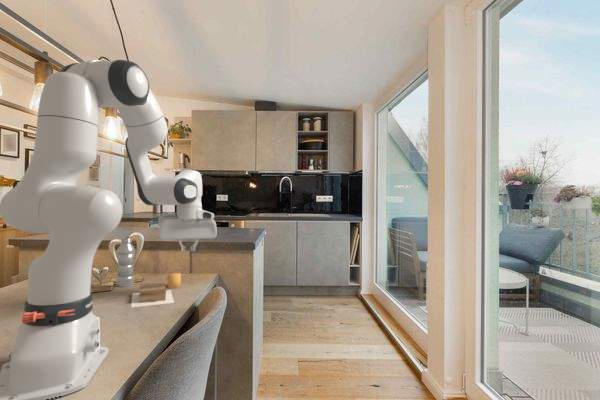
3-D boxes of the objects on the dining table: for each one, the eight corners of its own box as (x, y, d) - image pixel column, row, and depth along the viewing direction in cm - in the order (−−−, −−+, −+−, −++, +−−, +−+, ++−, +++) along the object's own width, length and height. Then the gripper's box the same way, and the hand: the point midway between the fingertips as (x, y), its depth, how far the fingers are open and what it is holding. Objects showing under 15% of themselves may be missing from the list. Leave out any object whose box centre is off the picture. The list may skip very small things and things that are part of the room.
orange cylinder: (181, 290, 124) (181, 275, 124) (167, 291, 122) (168, 276, 122) (179, 287, 129) (180, 272, 129) (166, 288, 126) (167, 273, 126)
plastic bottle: (126, 290, 122) (128, 239, 122) (111, 288, 123) (113, 238, 123) (138, 286, 128) (139, 237, 128) (123, 284, 129) (125, 236, 129)
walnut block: (165, 300, 109) (165, 288, 109) (139, 303, 105) (140, 291, 105) (164, 293, 117) (164, 282, 117) (140, 295, 113) (140, 284, 113)
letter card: (174, 305, 107) (174, 302, 107) (130, 310, 101) (130, 307, 101) (170, 292, 121) (170, 289, 121) (132, 296, 115) (132, 293, 115)
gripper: (158, 213, 108) (157, 253, 108) (218, 214, 118) (217, 251, 118) (158, 213, 114) (157, 250, 114) (215, 213, 123) (214, 248, 123)
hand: (188, 250), depth 116 cm, fingers closed
